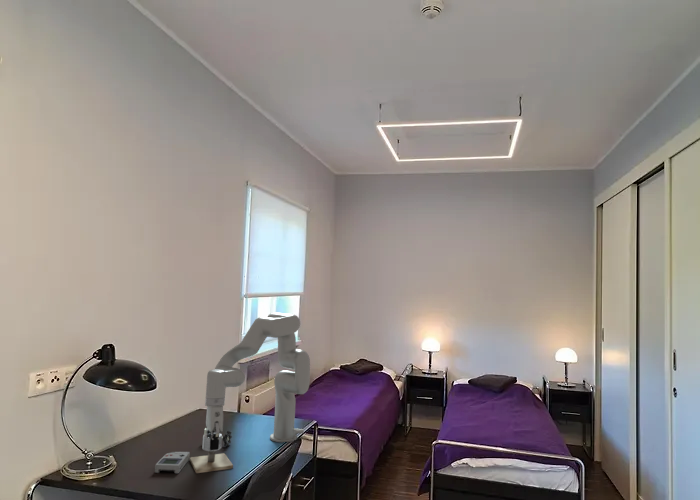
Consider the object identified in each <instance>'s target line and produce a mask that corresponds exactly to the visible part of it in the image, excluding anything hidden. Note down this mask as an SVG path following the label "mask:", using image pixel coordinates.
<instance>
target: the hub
mask: <svg viewBox="0 0 700 500" xmlns="http://www.w3.org/2000/svg"><path fill="white" fill-rule="evenodd" d="M214 434H215V433H213V436H214ZM222 437H223V435H222V433H221V432H220V433H219V448H218V450H210V441H211V439H212V438H211V433H206V434H204V433H203V435H202V447H201V449H202V450H203V451H204V452H205V451H206V452H208V451H215V452H217V451H220V450H221V449H222V445H223V444H222V443H223V442H222V441H223V439H222Z"/></svg>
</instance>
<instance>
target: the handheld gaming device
mask: <svg viewBox="0 0 700 500" xmlns="http://www.w3.org/2000/svg"><path fill="white" fill-rule="evenodd" d="M190 456H191V455H190V451H171V452H168V453H165V454H164V455H163V456H162V457H161V458H160V459H159V460H158V461H157V462H156V463H155V465H154V473H155V474H156V473H157V474H159V473H160V472H161V471H163V472H174V474H179V473H181V471H182V470H183V469H184V467H185V465H186V464H187V463H188V462H189V461H190Z"/></svg>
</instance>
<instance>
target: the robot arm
mask: <svg viewBox="0 0 700 500" xmlns="http://www.w3.org/2000/svg"><path fill="white" fill-rule="evenodd" d="M300 327H301V319H300V317H298V315H296V314H293V313H283V312H272V313H269V314H268V316H260V317H257V318H256V319H254V321H253V322H252V324H251V325H250V327H249V328H248V330H247V332H246V333H245V335H244V336H243V338H242V340H241V341H240V343H239V344H236V345H235V346H234V347H232V348H231V349H230V350H228V351H227V352H225V353H224V354H223V355H222V357H221V358H220V359H219V361H218V362H217V364H216V366H215V367H214V369H210V370H208V371H207V375H206V386H205V390H206V391H205V401H204V403H205V404H204V405H205V406H206V415H205V428H207V433H211V438H212V439H211V441H210V450H217V451H219V450H218V448H219V433H220V434H221V432H223V430H224V429H223V428H224V406H225V405H226V404H225V403H226V389H227V388H237V387H240V386H241V385H243V383H244V382H245V379H246V374H245V372H244V371H243V370H242V369H241V368H238V367H233V366H234V365H236V364H237V363H238V362H240V361H242V360H244V359H246V358H251V357H252V356H255V355H257V354H258V352H259V351H260V349H261V347H262V346H263V344H264V343H265V340H266V339H267V338H275V339H277V363H278V365H279V366H280V367H281V368H283V369H282V370H280V371H278V372H277V373H276V374H275V376H274V390H275V393H274V394H275V399H274V401H275V402H274V405H275V406H274V419H273V420H274V421H273V433H271V434H270V435H269V439H270V441H272V442H275V443H283V442H287V443H292V442H295V441H297V439H298V436H297V435H299V434H304V432H305V430H304V429H303V428H301V429H300V428H298V427H297V428H295V420H296V419H295V418H296V417H295V416H296V401H297V400H296V396H295V394H296V395H304V394H306V393H307V392H308V391H309V388H310V385H311V384H310V383H311V381H310V379H311V358H310V355H309V353H308V352H307V351H305V350H304V349H298V348H297V340H296V334H295V333H296V332H298V330H300ZM285 369H286V370H285ZM288 369H289V370H288ZM291 370H294V371H291ZM213 433H215V434H214V436H213ZM294 440H295V441H294ZM283 444H284V443H283Z"/></svg>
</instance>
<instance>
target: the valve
mask: <svg viewBox="0 0 700 500" xmlns="http://www.w3.org/2000/svg"><path fill="white" fill-rule="evenodd" d="M206 433H207V427H205V428H204V433H203V435H204V434H206ZM232 438H233V436H232V432H231V431H229V430H226V434H224V435H222V441H223V443H224V444H223V447H229V446H230V444H231V443H232V441H231V439H232Z"/></svg>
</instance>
